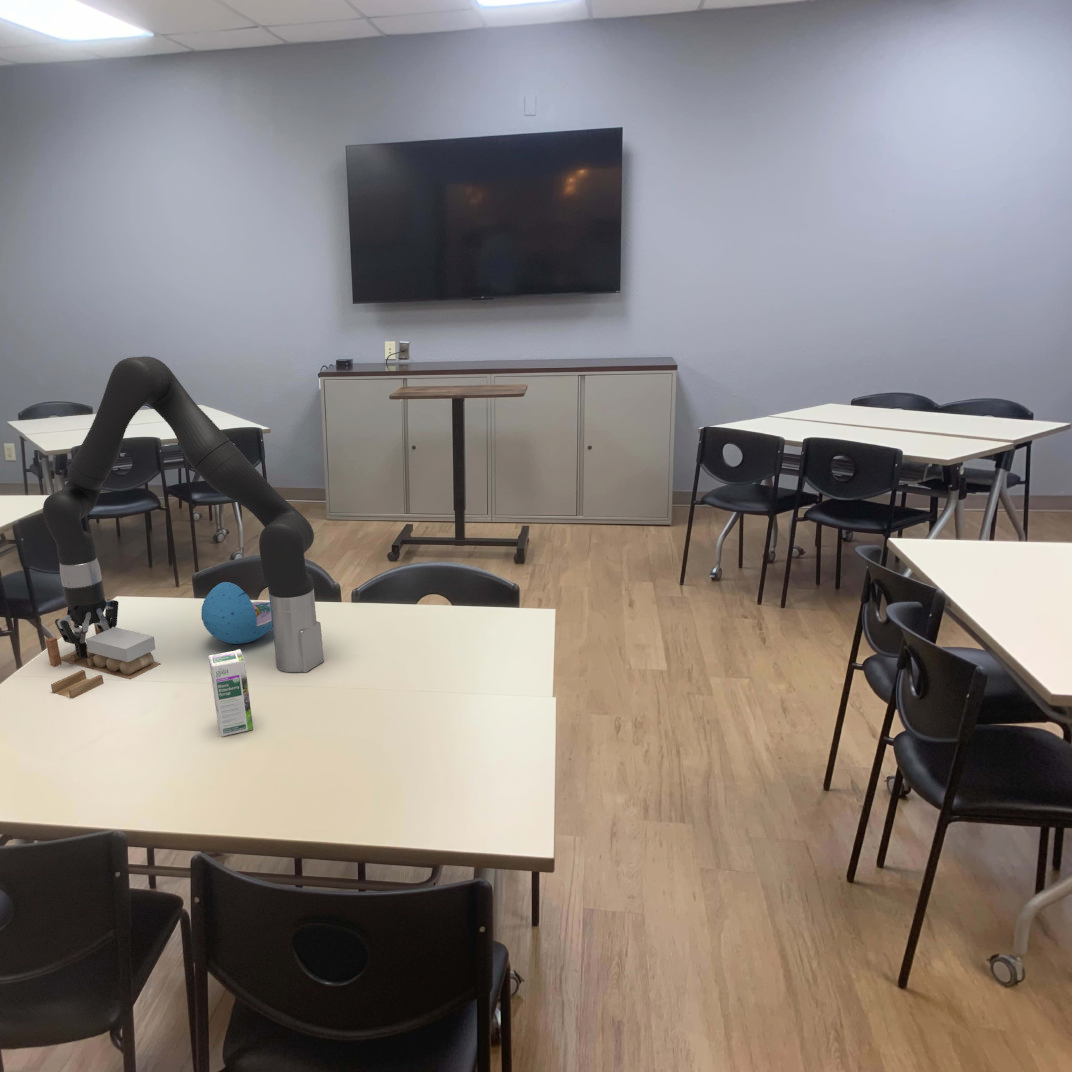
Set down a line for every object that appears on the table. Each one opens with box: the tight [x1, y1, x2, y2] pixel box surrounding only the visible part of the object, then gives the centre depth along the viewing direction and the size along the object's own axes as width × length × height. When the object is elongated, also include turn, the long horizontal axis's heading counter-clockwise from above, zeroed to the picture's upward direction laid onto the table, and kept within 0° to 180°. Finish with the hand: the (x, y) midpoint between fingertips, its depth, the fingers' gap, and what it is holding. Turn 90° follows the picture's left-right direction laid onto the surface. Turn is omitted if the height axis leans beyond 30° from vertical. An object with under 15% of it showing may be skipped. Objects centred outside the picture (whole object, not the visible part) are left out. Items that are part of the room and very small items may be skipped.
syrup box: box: [208, 648, 254, 738], centre depth 150 cm, size 6×6×14 cm
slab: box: [85, 626, 156, 662], centre depth 172 cm, size 12×7×3 cm, turn 65°
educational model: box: [201, 581, 273, 645], centre depth 187 cm, size 16×19×15 cm
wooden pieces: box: [45, 623, 162, 699], centre depth 172 cm, size 23×21×7 cm
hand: (94, 652), depth 177 cm, fingers closed on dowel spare, 4 cm apart
